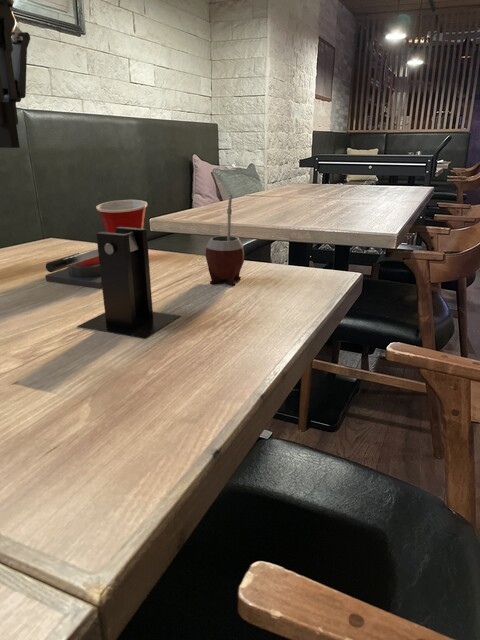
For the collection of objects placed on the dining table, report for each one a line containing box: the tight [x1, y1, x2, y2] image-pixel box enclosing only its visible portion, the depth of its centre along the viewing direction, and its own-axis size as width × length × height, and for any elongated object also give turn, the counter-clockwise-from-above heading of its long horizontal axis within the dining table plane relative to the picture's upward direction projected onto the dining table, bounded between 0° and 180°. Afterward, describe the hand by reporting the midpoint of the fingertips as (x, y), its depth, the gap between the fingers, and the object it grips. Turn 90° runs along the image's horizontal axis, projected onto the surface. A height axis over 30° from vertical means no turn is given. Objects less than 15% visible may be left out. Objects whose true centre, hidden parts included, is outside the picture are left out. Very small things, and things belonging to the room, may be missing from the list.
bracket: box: [76, 227, 181, 340], centre depth 67 cm, size 11×9×14 cm
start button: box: [77, 252, 100, 266], centre depth 89 cm, size 4×4×2 cm
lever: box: [45, 232, 139, 273], centre depth 67 cm, size 13×6×2 cm, turn 66°
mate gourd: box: [205, 194, 246, 287], centre depth 89 cm, size 8×8×15 cm
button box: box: [44, 264, 102, 290], centre depth 90 cm, size 12×10×4 cm
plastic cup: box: [95, 199, 148, 233], centre depth 107 cm, size 11×11×12 cm
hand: (9, 147), depth 77 cm, fingers closed
